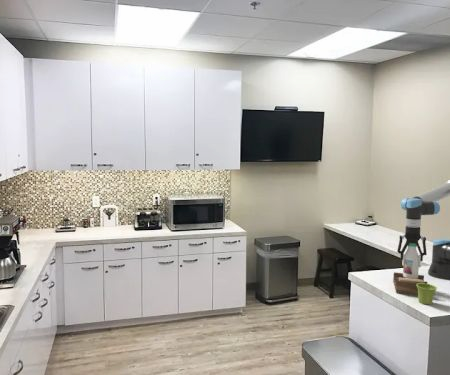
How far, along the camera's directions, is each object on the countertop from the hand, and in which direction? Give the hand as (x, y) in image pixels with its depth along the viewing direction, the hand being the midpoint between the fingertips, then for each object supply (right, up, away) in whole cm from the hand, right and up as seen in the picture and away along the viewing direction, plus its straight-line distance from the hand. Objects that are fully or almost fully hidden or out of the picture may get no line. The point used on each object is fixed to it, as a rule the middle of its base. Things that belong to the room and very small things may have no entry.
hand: (411, 266), depth 229 cm
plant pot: (-3, -15, -22) cm, 26 cm away
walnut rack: (-2, -13, -2) cm, 13 cm away
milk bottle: (0, -7, +1) cm, 7 cm away
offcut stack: (-4, -13, -8) cm, 16 cm away
